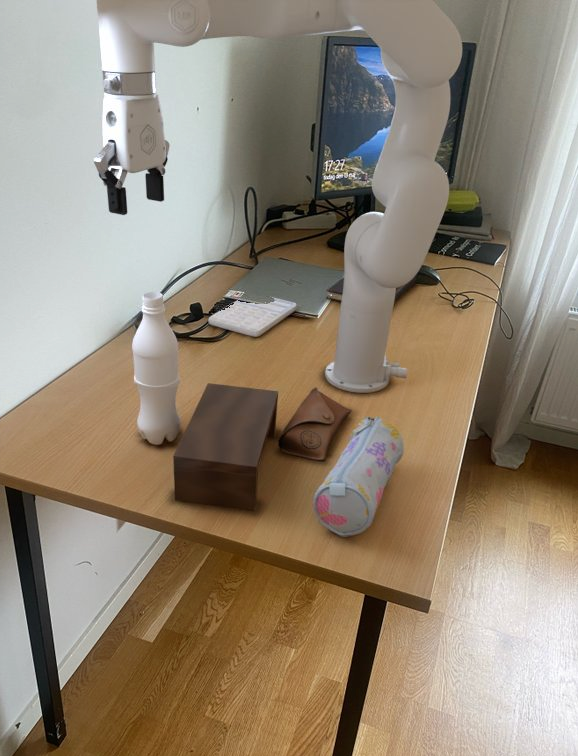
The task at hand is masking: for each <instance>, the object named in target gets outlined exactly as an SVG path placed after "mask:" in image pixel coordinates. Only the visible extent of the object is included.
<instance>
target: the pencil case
mask: <svg viewBox="0 0 578 756" xmlns="http://www.w3.org/2000/svg"><path fill="white" fill-rule="evenodd" d="M404 449H405V447H404V439H403V436H402V434H401V432H400V431H399V430H398V428H397V427H396V426H394V424H392V423H391V422H389V421H387V420H386V419H384V418H380V417H379V416H375V418H372V417H370V416H366V417H365V418H364V419H362V420H360V421H359V423H358V424H356V426H355V427H354V428H353V430H352V432H351V433H350V437H349V442H348V444H347V445H346V447H345V448H344V450H343V451H342V452H341V454H340V456H339V458H338V460H337V461H336V464H335V465H334V466H333V468H332V469H331V470H330V471H329V473H328V474H327V476H326V477H325V479H324V480H323V483H322V484H321V485H320V486H319V487H318V488H317V490H316V491H315V493H314V494H313V495H314V496H313V500H312V508H313V512H314V515H315V517H316V519H317V521H319V523H320V524H321V525H322V526H324V527H325V528H326V529H328V531H330V532H332V533H334V534H335V535H338V536H340V537H343V538H344V537H345V538H346V537H352V536H355V535H359V534H361V533H363V532H365V531H366V530H367V529H369V527H370V526H371V525H372V523H373V521H374V517H375V515H376V513H377V510H378V508H379V506H380V503H381V501H382V498H383V494H384V490H385V488H386V485H387V484H388V483H389V480H390V479H391V477H392V475H393V473H394V470H395V468H396V466H397V464H398V463H399V462H400V461H401V459H402V458H403V455H404V452H405V450H404Z"/></svg>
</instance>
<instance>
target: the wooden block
mask: <svg viewBox="0 0 578 756" xmlns="http://www.w3.org/2000/svg"><path fill="white" fill-rule="evenodd" d="M278 401H279V391H278V390H271V389H262V388H254V387H253V388H251V387H244V386H236V385H229V384H228V385H227V384H219V383H210V382H208V383H207V384H206V386H205V388H204V391H203V392H202V395H201V396H200V399H199V401H198V403H197V405H196V408H195V409H194V410H193V414H192V415H191V417H190V419H189V422H188V424H187V426H186V428H185V431H184V432H183V435H182V437H181V439H180V441H179V443H178V445H177V447H176V450H175V451H174V452H173V453H174V454H173V455H172V459H173V460H172V461H173V486H174V501H180V502H186V503H194V504H201V505H208V506H215V507H221V508H222V507H223V508H229V509H237V510H244V511H250V512H255V510H256V507H257V501H258V499H257V498H258V480H259V467H260V463H261V460H262V457H263V453H264V450H265V447H266V442H267V439H268V437H271V438H275V436H276V430H277V418H278V417H277V416H278V415H277V414H278V403H279V402H278Z"/></svg>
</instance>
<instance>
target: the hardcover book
mask: <svg viewBox="0 0 578 756" xmlns="http://www.w3.org/2000/svg"><path fill="white" fill-rule="evenodd" d="M416 282H417V275H415V276H414V278H413V279H412V280H410V281H409V282H408V283H406V284H405V285H403V286H401V287H398V288H396V292H395V300H394V304H396V302H397V301H398V300H400V298H401V297H402V296H403V295H404V294H406V293H407V292H408V291H409V290H410V289H411V288H412V287H413V286H414V285H415V284H416ZM343 285H344V276H343V277H341V278H340V279H339V280H337V282H335V283H334V284H333V285H331V286H330V287H328V289H326V292H327V296H326V297H325V299H326V300H330V301H333V302H338V303H341V301H342V295H343ZM328 293H330V294H332V296H330V295H328Z"/></svg>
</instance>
